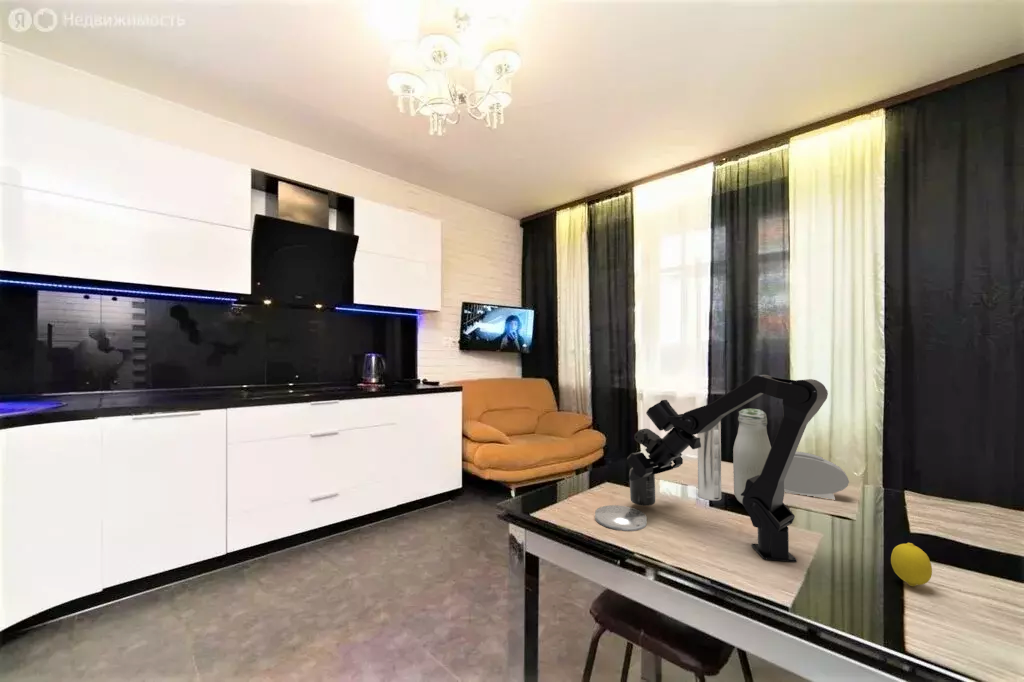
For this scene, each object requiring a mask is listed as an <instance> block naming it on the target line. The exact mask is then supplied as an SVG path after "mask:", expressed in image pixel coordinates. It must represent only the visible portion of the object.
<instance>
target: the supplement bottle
mask: <svg viewBox="0 0 1024 682" xmlns="http://www.w3.org/2000/svg"><path fill="white" fill-rule="evenodd" d="M646 458H647V457H646ZM647 459H649V457H648V458H647ZM632 469H633V467H631V468H630V469H629V475H630V474H631V472H632ZM650 475H651V476H648V477H644V478H641V479H637V480H633V481H631V480H630V479H629V496H630V497H629V498H630V502H631V503H632V504H634V505H638V506H645V507H646V506H647V507H648V506H653V505H654V504H655V503H656V477H655V476H656V474H654V471H653V472H652V473H651V474H650Z"/></svg>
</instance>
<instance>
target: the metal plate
mask: <svg viewBox="0 0 1024 682" xmlns="http://www.w3.org/2000/svg"><path fill="white" fill-rule="evenodd" d="M647 518H648V517H647V515H646V514H645V513H644V512H643V511H641V510H639V509H638V508H637V509H636V508H634V507H631V506H625V505H616V504H615V505H613V504H612V505H604V506H600V507H598V508H597V509H595V511H594V520H595V522H596V523H598V524H599V525H601V526H602V527H605V528H607V529H610V530H615V531H620V530H622V531H623V532H634V531H635V532H636V531H640V530H642V529H644V528H646V526H647V523H648V522H647V521H648V520H647ZM622 531H621V532H622Z"/></svg>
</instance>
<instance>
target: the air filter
mask: <svg viewBox="0 0 1024 682" xmlns="http://www.w3.org/2000/svg"><path fill="white" fill-rule="evenodd" d="M721 423H722V419H721V420H720V422H719V423H718V424H717V425H716V426H715V427H713V428H712V429H711V430H710V431H708V432H704V433H699V434H696V435H697V436H696V437H698V438H700V443H701V448H697V496H698V497H699V498H700V497H701V499H704V500H707V501H720V500H721V499H722V443H721V441H722V440H721V439H722V436H721V435H722V434H721V432H722V431H721V429H722V424H721Z"/></svg>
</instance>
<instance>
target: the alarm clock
mask: <svg viewBox="0 0 1024 682" xmlns="http://www.w3.org/2000/svg"><path fill="white" fill-rule="evenodd" d="M849 483H850V481H849V477H848V475H847V474H846V472H845V471H844V470H843V469H842V467H841V466H840V465H836V463H833V462H832V461H830V460H827V459H825V458H823V457H822V456H820V455H816V454H812V453H809V452H804V451H803V452H802V451H796V453H795V455H794V457H793V460H792V462H791V465H790V467H789V470H788V472H787V475H786V477H785V479H784V492H786V493H785V494H790V493H792V494H791V495H796V494H800V495H799V496H802V495H807V496H806V497H808V496H815V497H821V498H828V499H834V500H835V501H836V497H835V494H834V493H838V492H841V491H844V490H845V489H846V488H847V487H848V486H849ZM815 497H814V498H815ZM821 498H820V499H821Z"/></svg>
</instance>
